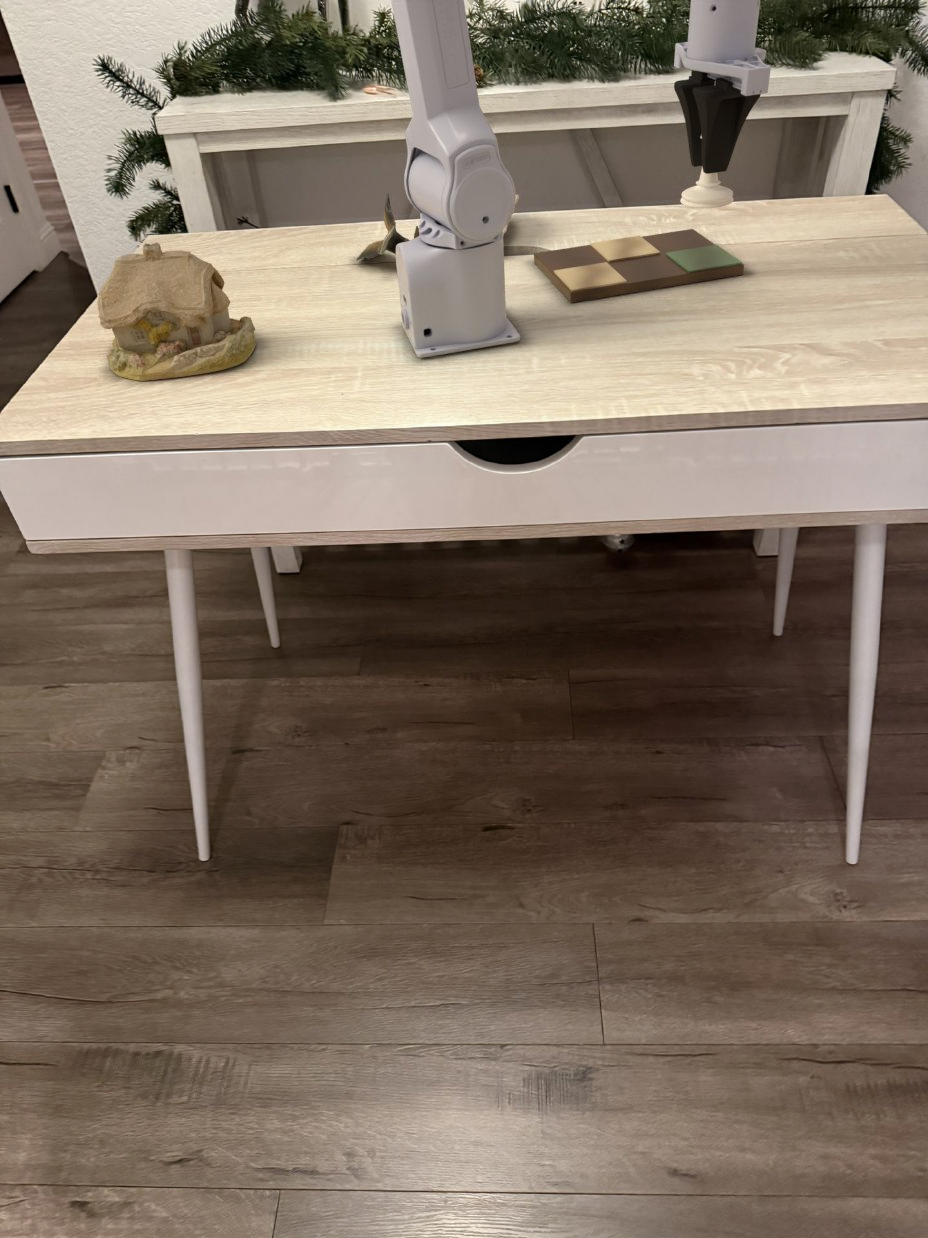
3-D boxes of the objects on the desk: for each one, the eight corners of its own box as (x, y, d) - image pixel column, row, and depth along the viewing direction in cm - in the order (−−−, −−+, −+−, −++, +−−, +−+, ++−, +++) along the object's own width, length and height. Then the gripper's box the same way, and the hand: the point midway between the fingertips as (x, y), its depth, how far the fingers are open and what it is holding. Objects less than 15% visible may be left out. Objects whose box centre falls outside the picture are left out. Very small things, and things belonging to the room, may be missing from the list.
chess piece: (679, 194, 90) (687, 77, 83) (730, 192, 89) (743, 74, 83) (681, 209, 86) (690, 88, 80) (735, 207, 85) (749, 84, 79)
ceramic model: (89, 384, 82) (48, 271, 75) (128, 332, 90) (95, 227, 84) (243, 376, 81) (216, 262, 74) (268, 325, 89) (246, 218, 83)
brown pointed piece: (453, 248, 99) (401, 216, 103) (427, 202, 93) (373, 170, 97) (407, 302, 99) (357, 268, 103) (377, 259, 93) (325, 225, 97)
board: (570, 302, 88) (570, 290, 88) (533, 262, 97) (533, 251, 97) (743, 274, 91) (744, 262, 90) (691, 237, 100) (692, 226, 99)
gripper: (815, -3, 72) (787, 182, 81) (731, -21, 83) (714, 144, 92) (731, 7, 71) (712, 193, 80) (657, -12, 82) (648, 153, 91)
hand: (708, 168), depth 86 cm, fingers closed on chess piece
